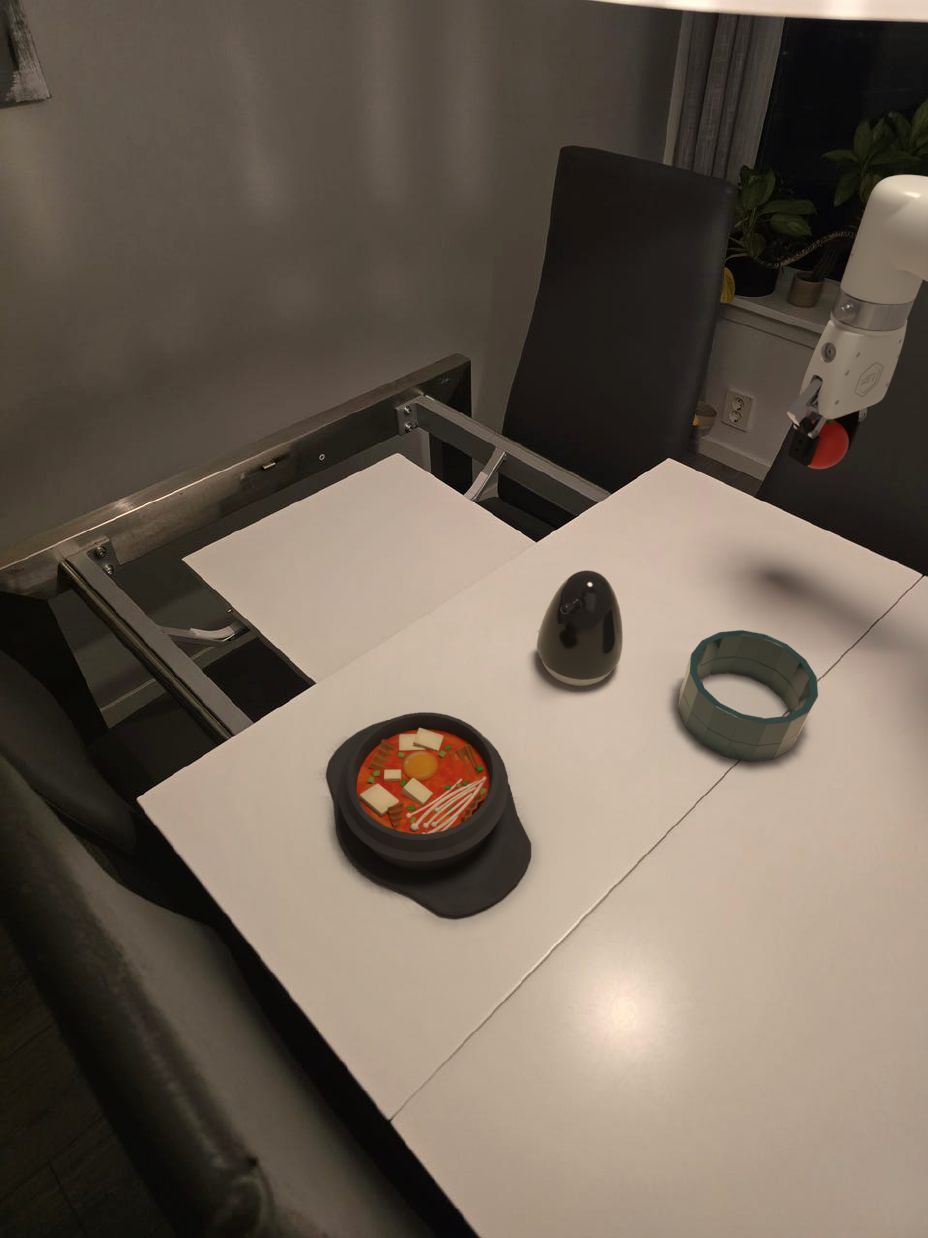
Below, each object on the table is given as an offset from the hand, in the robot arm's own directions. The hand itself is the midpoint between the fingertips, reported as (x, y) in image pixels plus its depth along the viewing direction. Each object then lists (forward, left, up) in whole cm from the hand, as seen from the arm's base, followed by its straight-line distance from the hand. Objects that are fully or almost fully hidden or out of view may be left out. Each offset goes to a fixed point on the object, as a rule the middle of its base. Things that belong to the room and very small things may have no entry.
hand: (818, 451), depth 96 cm
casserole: (+48, +39, -20) cm, 65 cm away
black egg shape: (+30, +18, -20) cm, 40 cm away
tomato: (0, 0, +1) cm, 1 cm away
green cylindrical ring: (+12, +26, -20) cm, 35 cm away
